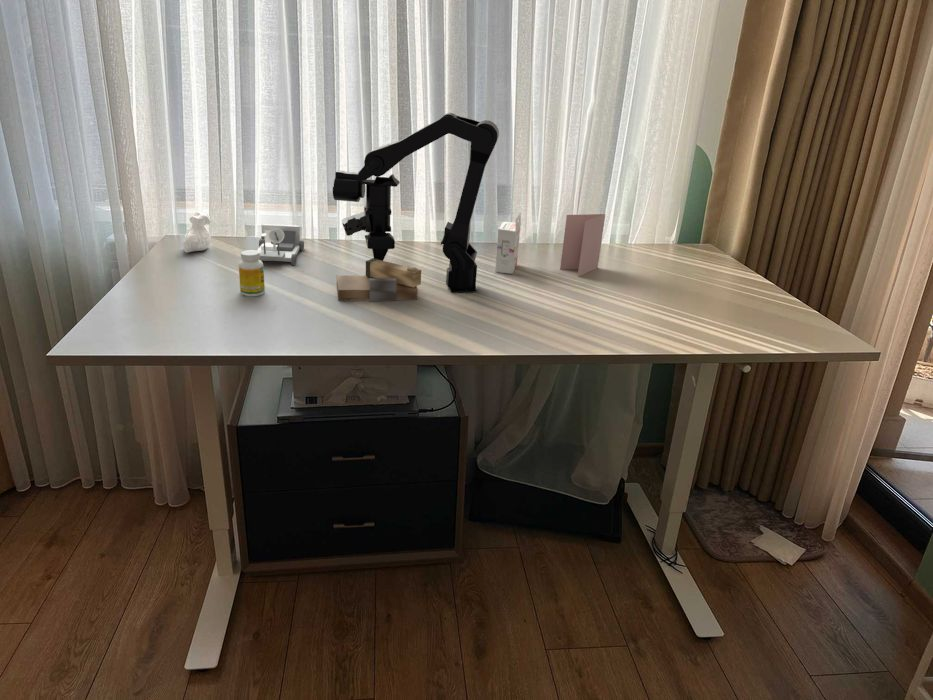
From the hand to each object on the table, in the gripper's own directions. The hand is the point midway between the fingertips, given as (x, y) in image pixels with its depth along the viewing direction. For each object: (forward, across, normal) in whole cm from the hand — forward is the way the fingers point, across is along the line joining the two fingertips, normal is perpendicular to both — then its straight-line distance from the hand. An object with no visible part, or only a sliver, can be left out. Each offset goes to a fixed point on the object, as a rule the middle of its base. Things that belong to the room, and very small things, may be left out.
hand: (377, 267), depth 174 cm
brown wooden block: (+4, +8, -1) cm, 9 cm away
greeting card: (+4, -6, +56) cm, 56 cm away
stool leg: (+1, +8, +3) cm, 8 cm away
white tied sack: (+4, -26, -45) cm, 52 cm away
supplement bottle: (+4, +8, -29) cm, 30 cm away
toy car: (+4, -19, -25) cm, 31 cm away
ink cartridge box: (+4, -9, +35) cm, 36 cm away
